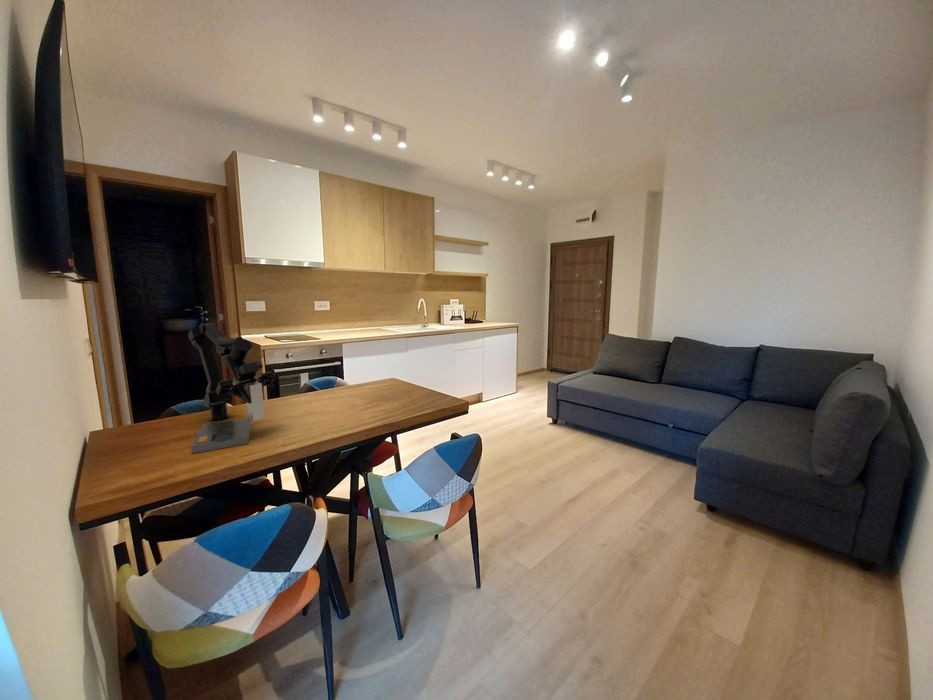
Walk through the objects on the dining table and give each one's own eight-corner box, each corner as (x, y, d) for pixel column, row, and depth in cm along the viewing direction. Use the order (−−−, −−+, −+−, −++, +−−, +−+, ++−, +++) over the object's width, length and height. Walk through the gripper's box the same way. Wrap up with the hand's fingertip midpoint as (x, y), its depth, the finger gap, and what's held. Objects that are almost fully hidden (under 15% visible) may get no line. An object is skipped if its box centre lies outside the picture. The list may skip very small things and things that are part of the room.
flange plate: (202, 431, 137) (202, 424, 136) (251, 423, 144) (250, 417, 144) (192, 453, 118) (190, 445, 117) (248, 443, 125) (247, 436, 125)
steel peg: (248, 418, 131) (244, 384, 129) (259, 415, 134) (256, 381, 132) (253, 420, 129) (249, 385, 126) (264, 417, 132) (261, 383, 130)
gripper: (215, 358, 122) (233, 395, 118) (270, 350, 137) (288, 383, 133) (208, 377, 128) (225, 413, 123) (262, 368, 143) (279, 399, 139)
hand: (256, 401), depth 129 cm, fingers closed on steel peg, 4 cm apart
